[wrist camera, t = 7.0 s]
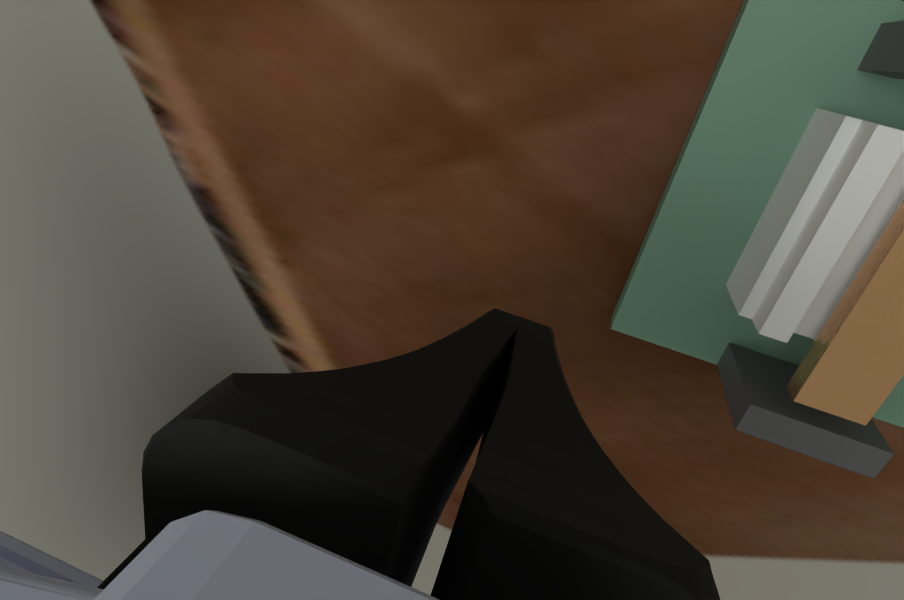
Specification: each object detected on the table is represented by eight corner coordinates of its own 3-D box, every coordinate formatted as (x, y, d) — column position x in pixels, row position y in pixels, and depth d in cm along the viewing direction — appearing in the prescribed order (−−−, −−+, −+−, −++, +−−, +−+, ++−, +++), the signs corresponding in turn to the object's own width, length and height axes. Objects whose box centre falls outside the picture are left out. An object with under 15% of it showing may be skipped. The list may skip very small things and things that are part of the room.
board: (936, 426, 20) (1048, 561, 14) (611, 317, 22) (605, 401, 16) (1223, 79, 14) (1571, 92, 9) (754, -26, 16) (814, -65, 11)
